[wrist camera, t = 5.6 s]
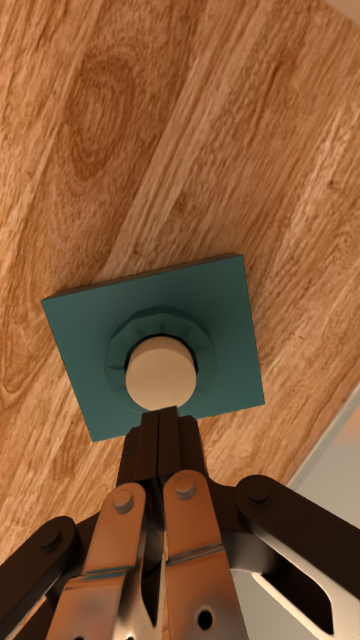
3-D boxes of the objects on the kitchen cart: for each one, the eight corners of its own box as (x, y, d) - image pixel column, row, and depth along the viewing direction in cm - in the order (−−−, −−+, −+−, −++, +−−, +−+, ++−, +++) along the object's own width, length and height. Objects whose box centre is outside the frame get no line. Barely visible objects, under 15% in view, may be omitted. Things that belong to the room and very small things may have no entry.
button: (185, 329, 17) (188, 341, 15) (198, 386, 19) (202, 403, 17) (121, 343, 17) (116, 357, 16) (138, 399, 19) (135, 418, 17)
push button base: (232, 252, 20) (251, 256, 16) (254, 386, 23) (274, 419, 19) (55, 292, 20) (26, 307, 16) (100, 420, 24) (86, 461, 19)
